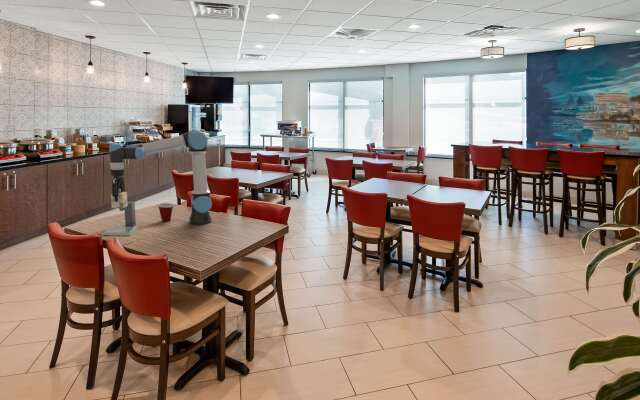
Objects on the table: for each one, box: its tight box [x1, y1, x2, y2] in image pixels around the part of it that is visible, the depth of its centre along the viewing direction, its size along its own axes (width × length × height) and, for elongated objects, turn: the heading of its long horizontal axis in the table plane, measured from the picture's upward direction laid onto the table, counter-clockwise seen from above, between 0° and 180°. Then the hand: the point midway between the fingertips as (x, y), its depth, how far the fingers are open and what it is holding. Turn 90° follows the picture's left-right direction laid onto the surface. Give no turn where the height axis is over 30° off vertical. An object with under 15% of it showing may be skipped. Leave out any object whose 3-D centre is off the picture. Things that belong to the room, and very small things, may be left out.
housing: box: [110, 189, 128, 209], centre depth 255 cm, size 7×7×12 cm
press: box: [102, 201, 140, 237], centre depth 263 cm, size 16×26×16 cm, turn 5°
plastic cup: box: [157, 202, 175, 223], centre depth 288 cm, size 11×11×12 cm
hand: (119, 205), depth 256 cm, fingers closed on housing, 7 cm apart
